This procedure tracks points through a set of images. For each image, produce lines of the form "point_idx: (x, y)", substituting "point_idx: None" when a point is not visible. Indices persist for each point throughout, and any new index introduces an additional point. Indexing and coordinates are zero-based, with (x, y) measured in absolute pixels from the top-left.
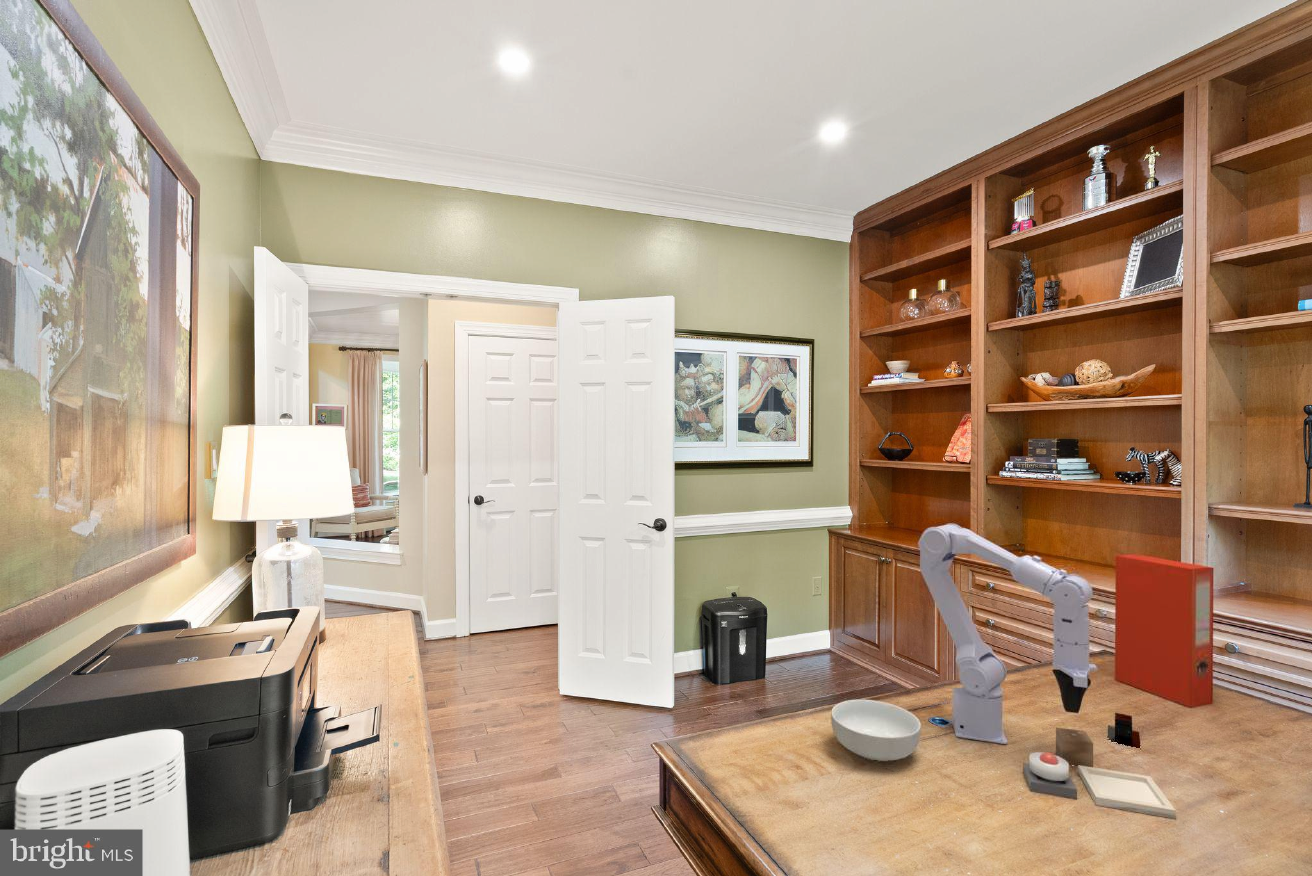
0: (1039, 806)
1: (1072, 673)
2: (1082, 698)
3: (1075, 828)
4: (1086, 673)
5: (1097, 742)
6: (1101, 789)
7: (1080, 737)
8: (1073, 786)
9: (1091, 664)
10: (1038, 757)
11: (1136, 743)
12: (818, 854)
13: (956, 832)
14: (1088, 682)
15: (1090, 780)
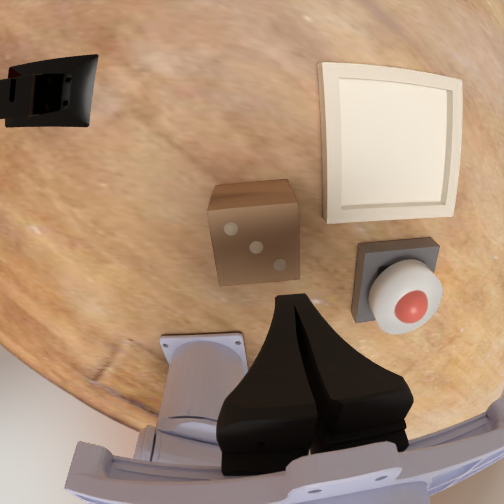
0: (454, 291)
1: (481, 469)
2: (334, 331)
3: (495, 252)
4: (496, 450)
5: (107, 148)
6: (404, 190)
7: (267, 231)
8: (430, 250)
9: (316, 493)
10: (400, 321)
11: (73, 64)
12: (490, 402)
13: (488, 354)
14: (410, 395)
15: (396, 212)
